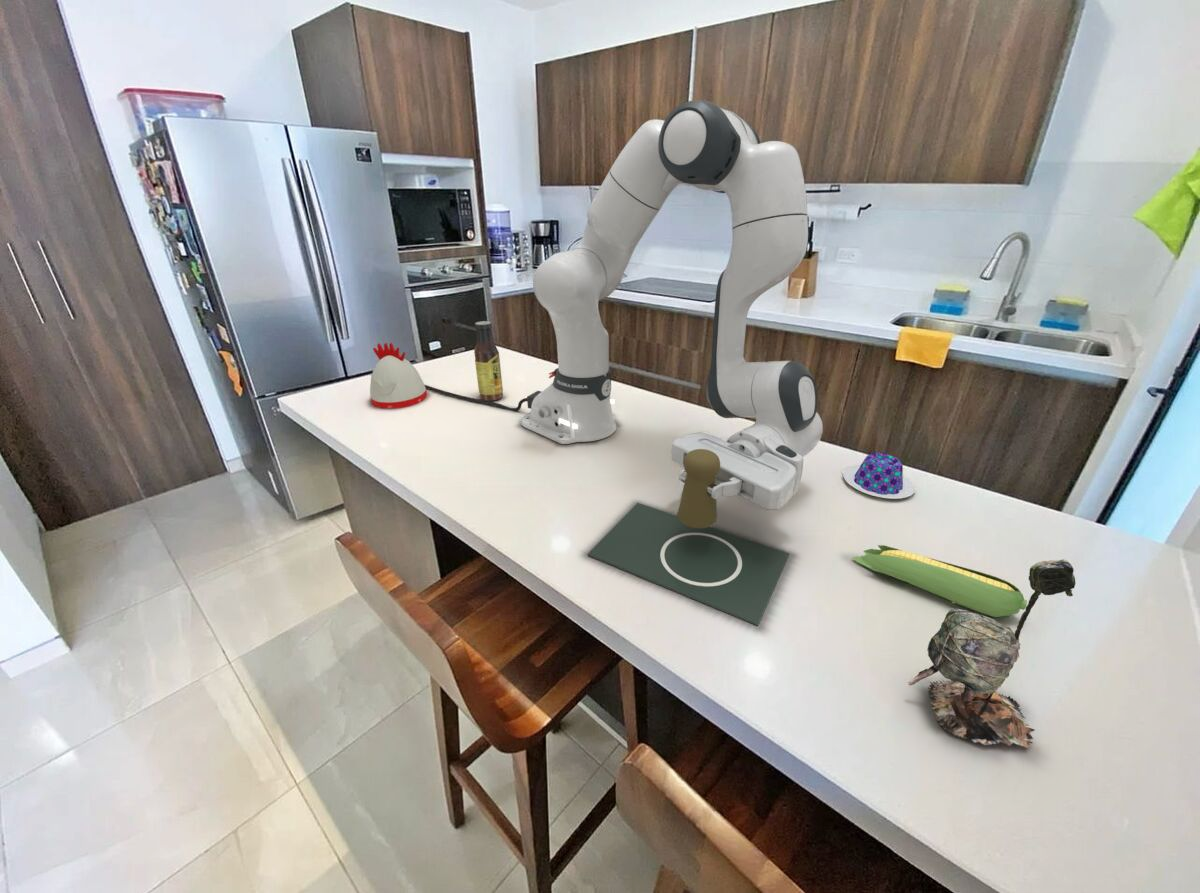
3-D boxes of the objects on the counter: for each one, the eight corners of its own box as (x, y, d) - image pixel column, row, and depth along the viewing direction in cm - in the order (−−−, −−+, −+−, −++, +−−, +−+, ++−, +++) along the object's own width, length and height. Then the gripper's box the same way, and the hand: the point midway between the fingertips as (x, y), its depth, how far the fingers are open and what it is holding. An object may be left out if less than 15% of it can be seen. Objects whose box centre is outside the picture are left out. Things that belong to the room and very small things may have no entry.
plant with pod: (906, 659, 59) (961, 522, 49) (1026, 707, 53) (1114, 562, 44) (900, 714, 53) (962, 569, 43) (1035, 774, 47) (1139, 623, 38)
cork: (717, 530, 73) (724, 465, 68) (675, 526, 74) (680, 462, 69) (717, 507, 78) (724, 445, 73) (678, 503, 80) (682, 442, 74)
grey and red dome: (388, 387, 140) (377, 335, 133) (435, 389, 138) (425, 336, 131) (361, 407, 128) (346, 350, 121) (411, 409, 126) (400, 352, 119)
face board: (587, 555, 76) (587, 553, 75) (637, 504, 88) (637, 502, 87) (757, 625, 63) (758, 623, 63) (788, 555, 75) (789, 552, 75)
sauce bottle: (501, 402, 130) (492, 326, 120) (477, 402, 130) (467, 326, 120) (505, 392, 135) (497, 319, 126) (482, 392, 136) (473, 319, 126)
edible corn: (1017, 633, 62) (1032, 606, 60) (846, 569, 72) (853, 544, 70) (1017, 607, 66) (1031, 581, 63) (854, 550, 76) (861, 526, 74)
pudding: (881, 508, 86) (889, 482, 83) (827, 475, 95) (833, 451, 93) (929, 492, 90) (938, 467, 87) (873, 462, 100) (879, 439, 97)
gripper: (704, 417, 86) (647, 441, 79) (813, 461, 72) (757, 496, 65) (701, 449, 89) (646, 476, 82) (806, 497, 75) (751, 535, 68)
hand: (696, 485), depth 73 cm, fingers closed on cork, 4 cm apart
